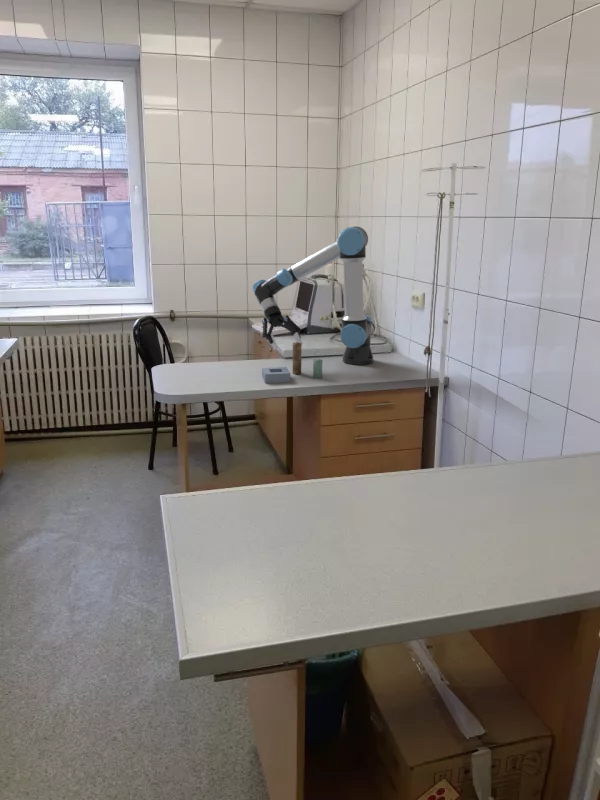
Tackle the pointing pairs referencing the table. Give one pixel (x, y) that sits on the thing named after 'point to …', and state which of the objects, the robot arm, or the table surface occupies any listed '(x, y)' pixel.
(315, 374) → the green pin short
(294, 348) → the walnut pin long
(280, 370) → the socket block
